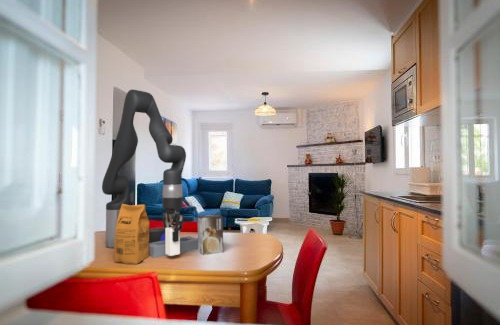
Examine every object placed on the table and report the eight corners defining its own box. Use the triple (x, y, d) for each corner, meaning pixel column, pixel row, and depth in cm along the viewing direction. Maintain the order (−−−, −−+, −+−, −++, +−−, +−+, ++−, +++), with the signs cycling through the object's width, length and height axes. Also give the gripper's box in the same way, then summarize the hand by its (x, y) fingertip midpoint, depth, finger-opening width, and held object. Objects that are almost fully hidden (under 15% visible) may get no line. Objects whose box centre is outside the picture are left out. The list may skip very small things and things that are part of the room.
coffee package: (127, 256, 125) (128, 202, 126) (152, 258, 121) (153, 203, 122) (109, 262, 116) (109, 204, 117) (135, 265, 112) (135, 205, 112)
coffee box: (218, 251, 131) (217, 214, 132) (223, 254, 126) (223, 215, 126) (197, 254, 127) (197, 215, 128) (202, 257, 122) (202, 217, 122)
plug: (165, 254, 118) (165, 228, 118) (174, 252, 121) (174, 226, 121) (170, 256, 115) (170, 229, 115) (179, 254, 118) (179, 228, 118)
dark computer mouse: (145, 253, 130) (145, 230, 130) (142, 250, 134) (142, 229, 134) (181, 247, 139) (181, 226, 139) (178, 245, 143) (178, 225, 143)
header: (144, 256, 125) (144, 243, 125) (189, 247, 139) (189, 236, 139) (154, 260, 118) (154, 247, 118) (199, 250, 132) (199, 239, 133)
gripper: (155, 195, 121) (155, 239, 121) (172, 197, 111) (172, 245, 110) (172, 194, 126) (172, 236, 126) (190, 196, 116) (190, 241, 115)
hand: (172, 240), depth 118 cm, fingers closed on plug, 4 cm apart
